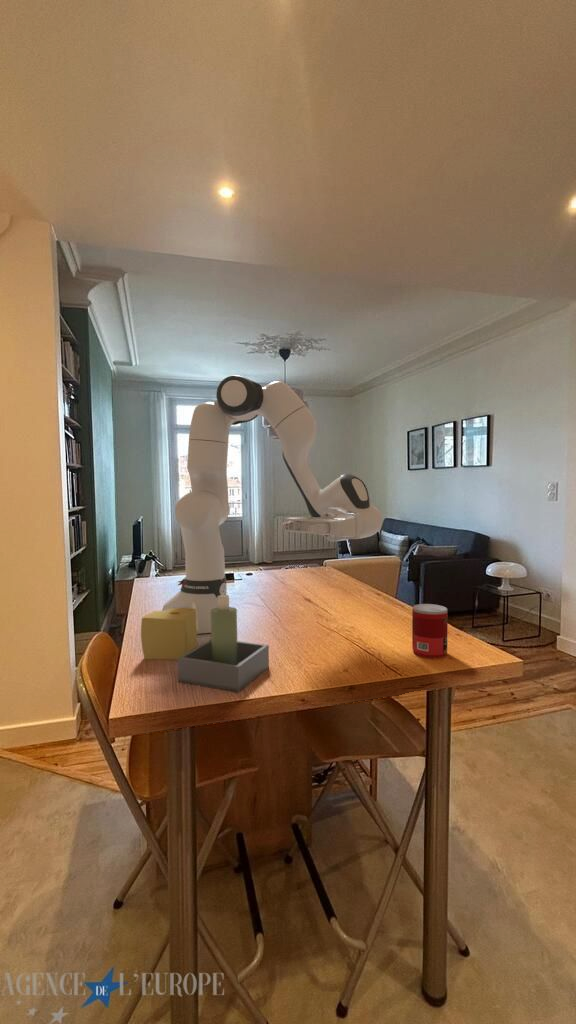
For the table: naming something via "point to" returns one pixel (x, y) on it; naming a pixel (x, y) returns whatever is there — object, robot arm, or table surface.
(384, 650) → the table surface
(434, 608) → the canned food
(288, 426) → the robot arm
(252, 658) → the box
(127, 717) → the table surface
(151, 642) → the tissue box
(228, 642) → the green bottle
